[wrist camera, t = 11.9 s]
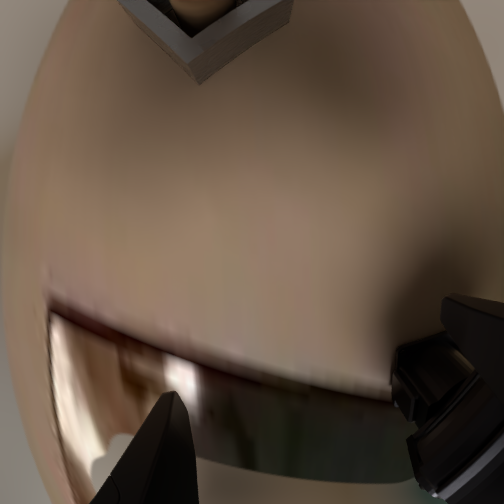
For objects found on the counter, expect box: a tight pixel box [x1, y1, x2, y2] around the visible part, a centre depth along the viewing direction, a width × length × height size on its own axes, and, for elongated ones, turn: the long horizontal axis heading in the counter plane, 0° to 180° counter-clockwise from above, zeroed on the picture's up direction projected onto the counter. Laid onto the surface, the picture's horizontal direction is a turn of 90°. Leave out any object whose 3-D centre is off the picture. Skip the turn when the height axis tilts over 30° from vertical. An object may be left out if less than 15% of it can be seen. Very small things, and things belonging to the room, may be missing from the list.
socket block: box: [117, 0, 294, 85], centre depth 15 cm, size 8×8×4 cm
